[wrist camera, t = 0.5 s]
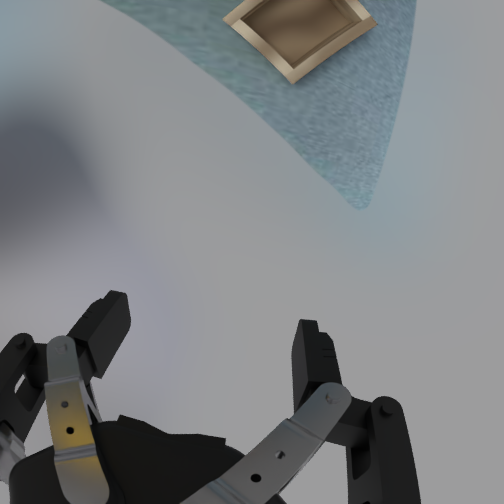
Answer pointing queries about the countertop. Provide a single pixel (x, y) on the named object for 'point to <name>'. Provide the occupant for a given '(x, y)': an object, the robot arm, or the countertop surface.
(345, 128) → the countertop surface
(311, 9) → the well block
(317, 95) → the countertop surface
